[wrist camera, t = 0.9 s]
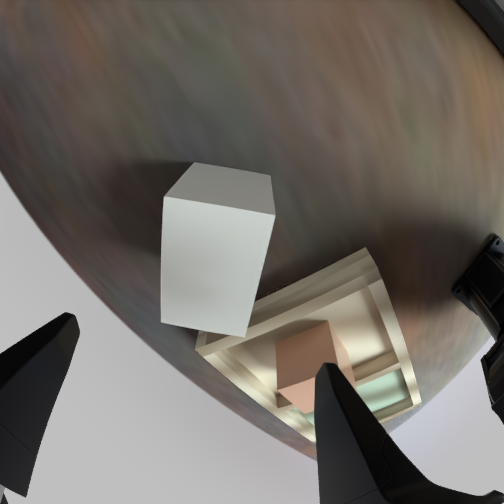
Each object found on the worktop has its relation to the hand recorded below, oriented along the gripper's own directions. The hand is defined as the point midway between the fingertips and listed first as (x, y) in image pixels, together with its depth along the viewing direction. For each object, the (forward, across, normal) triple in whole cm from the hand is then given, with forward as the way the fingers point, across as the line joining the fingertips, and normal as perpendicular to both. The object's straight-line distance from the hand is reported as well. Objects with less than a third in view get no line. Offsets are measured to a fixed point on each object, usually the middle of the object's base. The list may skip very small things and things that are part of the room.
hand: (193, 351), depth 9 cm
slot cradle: (+10, -12, +13) cm, 21 cm away
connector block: (+10, 0, 0) cm, 10 cm away
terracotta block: (+9, -8, +9) cm, 15 cm away
